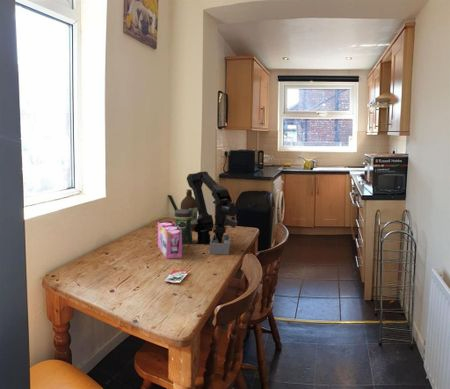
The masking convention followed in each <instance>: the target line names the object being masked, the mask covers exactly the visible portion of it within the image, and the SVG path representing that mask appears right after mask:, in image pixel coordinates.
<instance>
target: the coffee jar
mask: <svg viewBox="0 0 450 389" xmlns="http://www.w3.org/2000/svg"><path fill="white" fill-rule="evenodd" d="M173 217H174V221H175V225H176V226H177V227H179V228H180V229H181V230H182V245H184V244H185V245H187V244H190V243H192V242H193V231H191V219H192V212H191V210H187V209H181V208H180V209H179V208H178V209H176V210H175V211H174V216H173Z"/></svg>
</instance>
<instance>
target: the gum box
mask: <svg viewBox="0 0 450 389" xmlns="http://www.w3.org/2000/svg"><path fill="white" fill-rule="evenodd" d="M157 247H158V248H159V250H160V251H161V252H162V254H163V255H164V257H166V259H178V258H182V257H183V244H182V230H181V229H180V228H179V227H177V226H176V223H174V222H173V221H172V220H169V221H166V220H165V221H158V222H157Z"/></svg>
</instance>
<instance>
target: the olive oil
mask: <svg viewBox="0 0 450 389" xmlns="http://www.w3.org/2000/svg"><path fill="white" fill-rule="evenodd" d="M180 209H187V210H191V212H192V219H191V231H192V232H195V229H194V228H195V226H196V225H197V219H198V210H197V205H196V201H195V197H193V190H192V189H191V188H190V189H186V195H185V197H184V198H183V199H182V200H181V201H180Z"/></svg>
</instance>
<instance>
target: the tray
mask: <svg viewBox="0 0 450 389" xmlns="http://www.w3.org/2000/svg"><path fill="white" fill-rule="evenodd" d="M230 248H231V234H224V243H217V237H216V235H215V233H213V234H212V235H211V238H210V242H209V255H229V254H230Z"/></svg>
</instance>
